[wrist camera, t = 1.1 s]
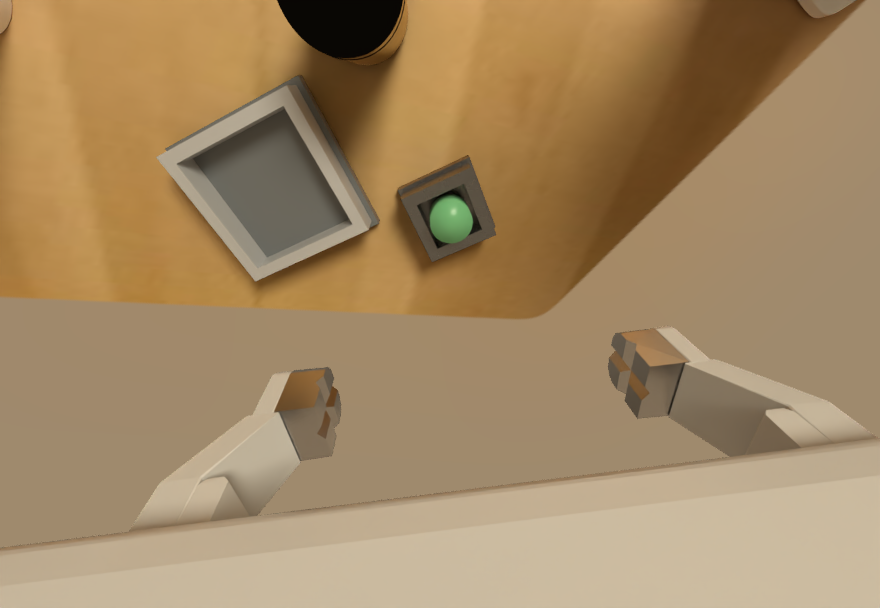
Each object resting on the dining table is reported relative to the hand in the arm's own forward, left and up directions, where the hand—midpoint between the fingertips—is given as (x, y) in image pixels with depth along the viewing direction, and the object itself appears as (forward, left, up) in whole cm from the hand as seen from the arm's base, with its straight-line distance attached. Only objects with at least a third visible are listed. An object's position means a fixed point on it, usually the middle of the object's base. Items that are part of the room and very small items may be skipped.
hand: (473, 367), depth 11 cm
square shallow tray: (+13, -5, -27) cm, 30 cm away
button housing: (0, +3, -27) cm, 27 cm away
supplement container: (0, -13, -27) cm, 30 cm away
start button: (0, +3, -24) cm, 25 cm away
